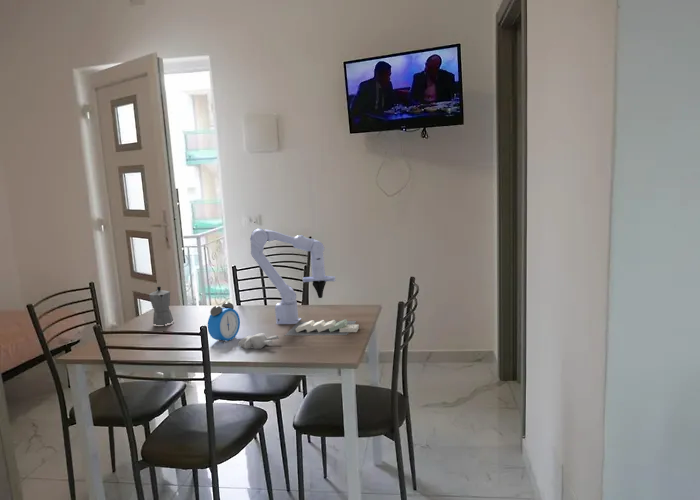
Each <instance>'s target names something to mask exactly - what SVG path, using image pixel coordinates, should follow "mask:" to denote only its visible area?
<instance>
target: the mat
mask: <svg viewBox="0 0 700 500" xmlns="http://www.w3.org/2000/svg"><path fill="white" fill-rule="evenodd" d="M324 321H325V320H324ZM330 321H331V320H329V321H327V320H326V321H325V323H327V322H330ZM335 321H336V323H337V322H340V321H341V320H339V321H338V320H335ZM306 322H307V321H299V322H298V323H297V324H294V325H293V326H292V328H291V329H290V330H288V331H287V333H286V334H284V336H285V337H286V336H348V334H349V333H350V332H340V330H339V329H337V330H335V331H332V332H330V331H329V329H326V330H323V331H321V332H318V331H317V329H315V330H313V331H310V332H308V333H307V330H306V329H305V330H302V331H300V332H296V330H295V329H296V328H297V327H298V326H299V325H301V324H304V323H306ZM314 322H315V323H316V322H317V321H314ZM347 322H348V323H347V324H346V325H356V322H357V320H347Z"/></svg>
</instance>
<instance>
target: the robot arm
mask: <svg viewBox="0 0 700 500" xmlns="http://www.w3.org/2000/svg"><path fill="white" fill-rule="evenodd" d="M249 241H250V254H251V257H252V258H253V260H254V261H255V262H256V264H257V265H258V266H259V267H260V268H261V270H262V272H264V274H265V275H266V277H267V278H268V279H269V280H270V282H271V283H272V285H274V287H275V288H276V289H277V291H278V292H279V295H280V297H281V299H280V302H277V303H276V304H275V310H274V313H275V322H276V323H275V325H296V324H297V323H298V322H301V320H302V317H299V312H298V302H297V301H298V300H297V293H296V292H295V291H294V288H293V287H292V286H290V285H288V284H287V283H286V281H285V280H284V279H283V277H282V276H281V275H280V273H278V272H279V271H277V270H276V269H275V267H274V266H273V264H272V263H271V262H270V261H269V259H268V258H267V257H266V255H265V254H264V248H265V245H266V244H267V242H272V241H279V242H283V243H285V244H286V243H287V244H290V245H292V247H293V248H294V249H297V250H301V251H304V252H310V264H311V275H312V276H304V277H302V283H312V287H313V288H314V290H315V291H316V294H317V297H318V299H323V296H324V289H325V286H326V284H327V282H336V276H334V275H331V276H330V275H326V269H325V268H326V267H325V257H324V251H325V246H324V244H323V243H322V242H321V241H320V240H317V239H315V238H312V237H311V238H309V237H306V236H304V235H303V234H300V235H297V234H296V236H291V235H289V234H284V233H282V232H279V231H275V230H271V229H265V228H264V229H263V228H261V227H258V228H255V229H253V231H252V232H251V236H250V238H249Z"/></svg>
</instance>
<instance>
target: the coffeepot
mask: <svg viewBox="0 0 700 500" xmlns="http://www.w3.org/2000/svg"><path fill="white" fill-rule="evenodd" d="M148 296H149V301H150V304H151V306H152V308H153V311H154V312H153V318H152V319H153V320H152V325H153V324H156V325H165V324H167V323H171V322H172V321H173V320H174V318H173V315H172V312H171V308H170V305H171V290H164V289H161V286H157V287H156V289H155V291H152V292H150V293H149V294H148Z"/></svg>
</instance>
